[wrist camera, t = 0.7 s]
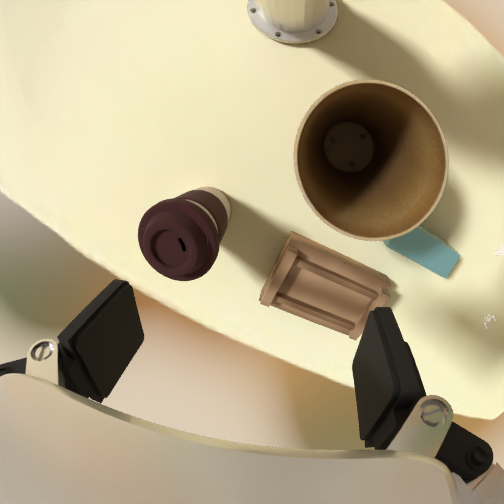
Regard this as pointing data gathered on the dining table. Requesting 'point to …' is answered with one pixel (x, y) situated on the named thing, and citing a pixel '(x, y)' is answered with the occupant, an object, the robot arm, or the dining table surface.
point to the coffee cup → (185, 233)
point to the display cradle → (324, 286)
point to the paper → (500, 251)
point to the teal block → (425, 250)
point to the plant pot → (371, 160)
